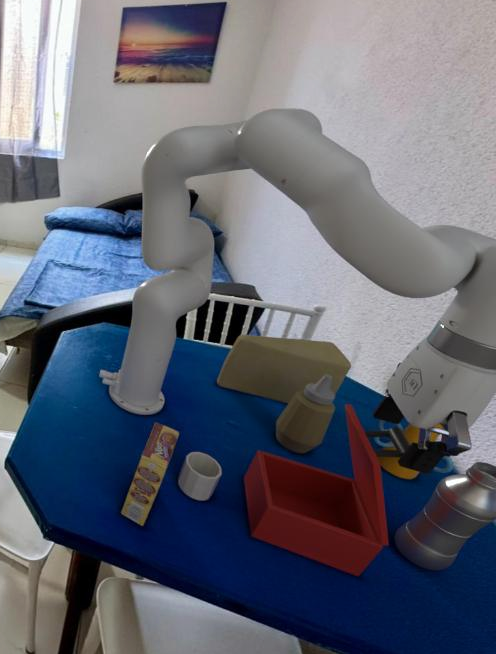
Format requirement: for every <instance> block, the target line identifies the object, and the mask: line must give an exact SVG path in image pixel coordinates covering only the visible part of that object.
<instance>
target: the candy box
mask: <svg viewBox="0 0 496 654" xmlns="http://www.w3.org/2000/svg"><path fill="white" fill-rule="evenodd" d="M179 436H180V432H179V431H178V430H176V429H174V428H171V427H169V426H167V425H164V424H161V423H159V422H154V425H153V427H152V429H151V432H150V434H149V438H148V439H147V442H146V444H145V447H144V449H143V452H142V453H141V456H140V459H139V461H138V464H137V467H136V470H135V472H134V475H133V478H132V481H131V484H130V486H129V489H128V492H127V495H126V498H125V501H124V503H123V506H122V509H121V511H120V514H121V515H122V516H124V517H126V518H128V519H129V520H131V521H133V522H134V523H136V524H137V525H139V526H141V527H144V525H145V523H146V521H147V518H148V516H149V513H150V512H151V509H152V506H153V504H154V502H155V499H156V497H157V494H158V493H159V490H160V487H161V485H162V483H163V480H164V477H165V476H166V471H167V470H168V467H169V464H170V462H171V459H172V456H173V453H174V450H175V447H176V444H177V441H178V439H179Z"/></svg>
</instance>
